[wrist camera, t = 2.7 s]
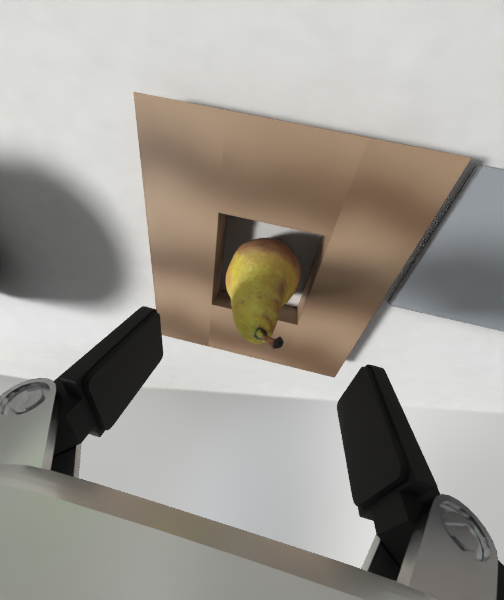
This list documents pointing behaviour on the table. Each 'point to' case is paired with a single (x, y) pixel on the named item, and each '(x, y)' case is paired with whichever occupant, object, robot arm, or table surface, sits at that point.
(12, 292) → the table surface
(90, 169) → the table surface
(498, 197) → the coaster
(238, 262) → the fruit
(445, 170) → the block with square hole
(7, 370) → the table surface
